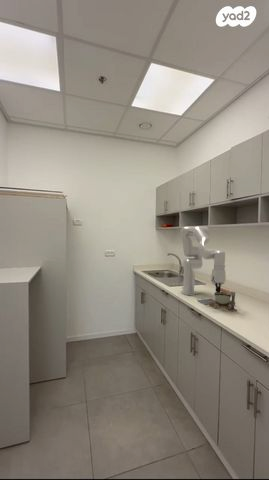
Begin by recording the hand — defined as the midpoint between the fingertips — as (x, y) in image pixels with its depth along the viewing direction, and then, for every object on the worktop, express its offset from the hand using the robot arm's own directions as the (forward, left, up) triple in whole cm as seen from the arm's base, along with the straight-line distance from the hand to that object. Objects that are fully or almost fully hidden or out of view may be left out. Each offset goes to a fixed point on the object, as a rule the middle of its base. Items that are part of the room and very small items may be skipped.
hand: (217, 291), depth 170 cm
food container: (-2, +6, -12) cm, 13 cm away
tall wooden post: (+3, +5, -1) cm, 6 cm away
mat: (-11, +1, -12) cm, 16 cm away
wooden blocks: (+3, +5, -11) cm, 13 cm away
